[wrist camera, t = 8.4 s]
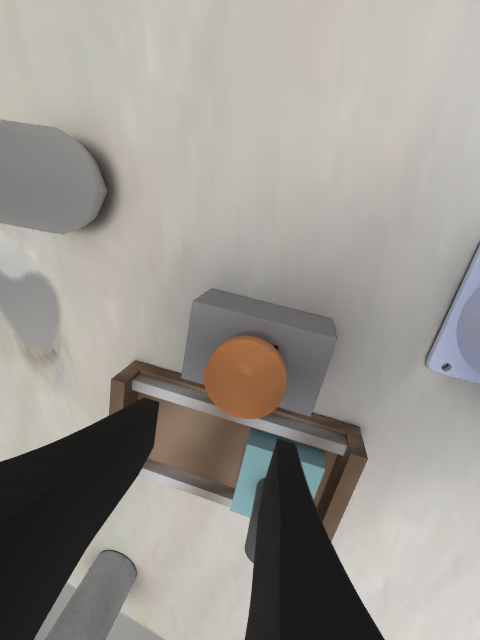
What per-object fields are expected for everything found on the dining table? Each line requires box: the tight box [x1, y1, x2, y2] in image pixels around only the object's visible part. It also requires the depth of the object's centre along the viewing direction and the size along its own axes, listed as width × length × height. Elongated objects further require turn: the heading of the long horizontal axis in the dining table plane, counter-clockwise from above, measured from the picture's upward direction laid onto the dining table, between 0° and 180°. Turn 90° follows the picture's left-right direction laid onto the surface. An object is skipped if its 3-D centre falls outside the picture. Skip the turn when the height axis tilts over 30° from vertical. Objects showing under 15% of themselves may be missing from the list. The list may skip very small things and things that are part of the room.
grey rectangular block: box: [181, 289, 337, 417], centre depth 18 cm, size 8×5×4 cm, turn 78°
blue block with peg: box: [230, 427, 325, 563], centre depth 19 cm, size 5×6×6 cm
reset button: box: [204, 336, 287, 419], centre depth 16 cm, size 4×4×4 cm
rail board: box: [109, 361, 368, 541], centre depth 22 cm, size 17×9×3 cm, turn 78°
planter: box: [45, 551, 136, 640], centre depth 26 cm, size 4×4×10 cm
